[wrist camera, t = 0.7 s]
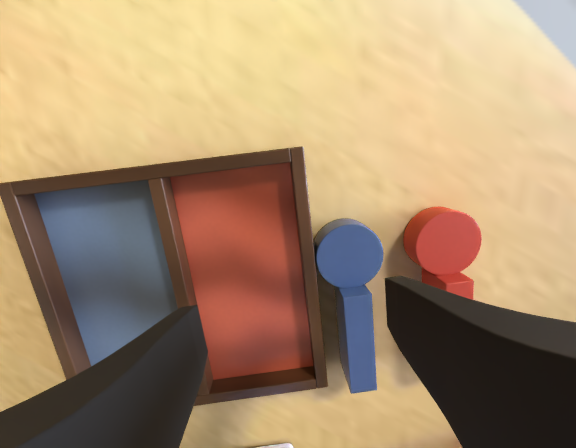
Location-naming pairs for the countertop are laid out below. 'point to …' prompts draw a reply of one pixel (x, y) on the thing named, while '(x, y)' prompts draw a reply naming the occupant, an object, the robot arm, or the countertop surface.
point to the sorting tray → (180, 265)
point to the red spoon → (443, 248)
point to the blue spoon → (352, 294)
